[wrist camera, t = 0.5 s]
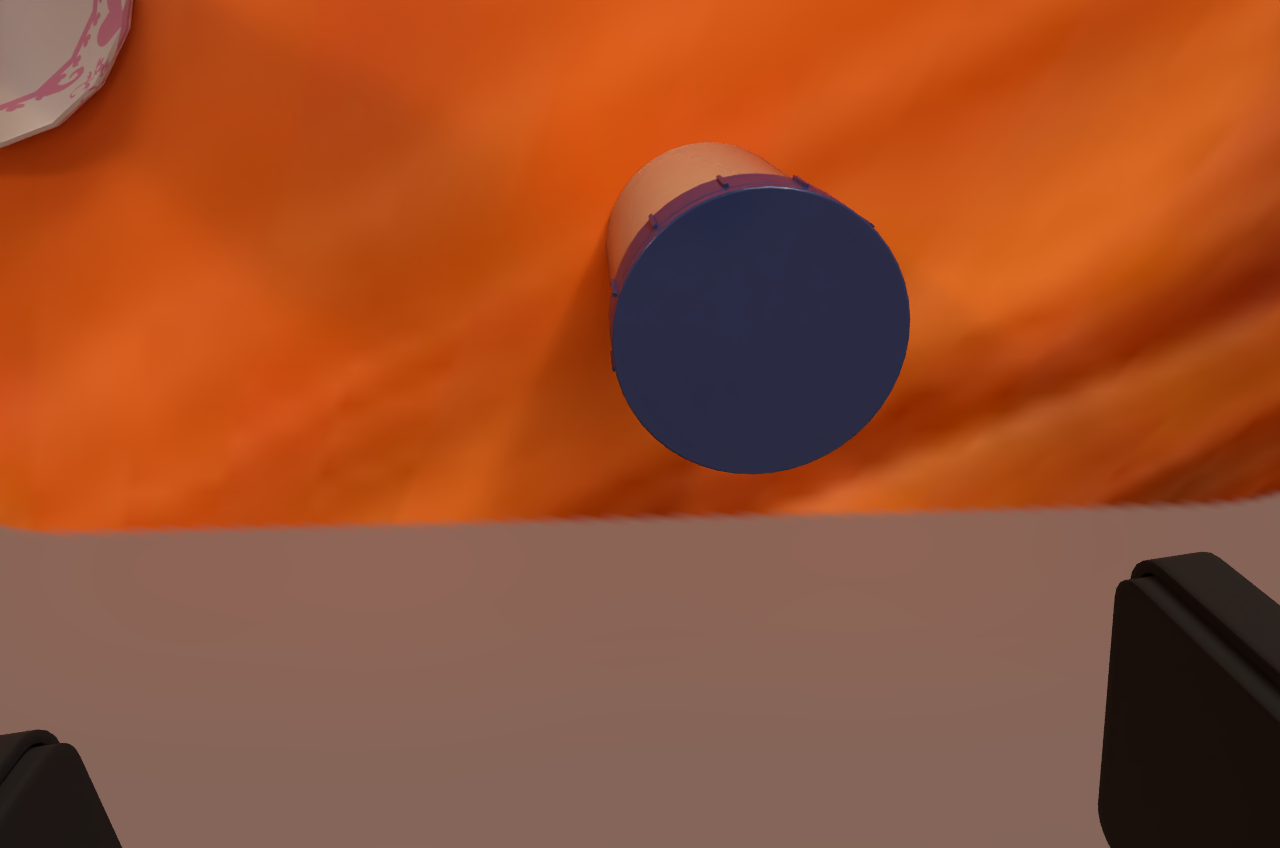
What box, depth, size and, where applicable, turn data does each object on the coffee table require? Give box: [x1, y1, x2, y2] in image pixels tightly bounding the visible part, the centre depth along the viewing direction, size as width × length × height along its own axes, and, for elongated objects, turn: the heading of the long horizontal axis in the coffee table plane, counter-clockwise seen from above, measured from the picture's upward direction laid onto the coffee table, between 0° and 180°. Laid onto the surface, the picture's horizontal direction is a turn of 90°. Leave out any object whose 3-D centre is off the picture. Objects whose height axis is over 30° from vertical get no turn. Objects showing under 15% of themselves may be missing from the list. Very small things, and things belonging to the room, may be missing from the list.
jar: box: [606, 142, 791, 292], centre depth 27 cm, size 7×7×10 cm
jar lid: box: [609, 173, 910, 474], centre depth 23 cm, size 7×7×2 cm
